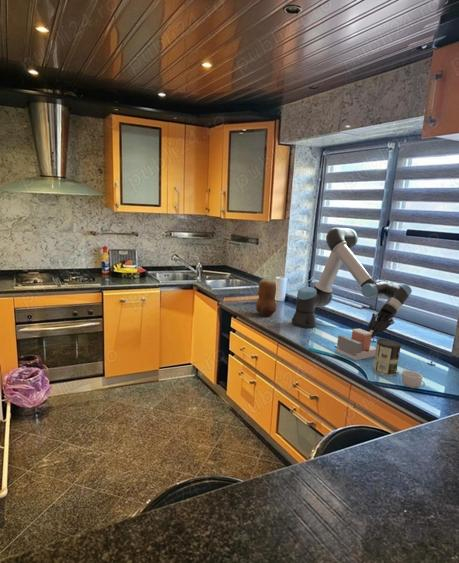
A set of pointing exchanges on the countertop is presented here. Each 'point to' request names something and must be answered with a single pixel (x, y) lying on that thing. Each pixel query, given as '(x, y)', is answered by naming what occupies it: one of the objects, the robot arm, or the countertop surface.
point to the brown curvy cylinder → (266, 297)
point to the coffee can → (386, 357)
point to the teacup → (412, 379)
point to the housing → (353, 348)
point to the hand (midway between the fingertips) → (366, 340)
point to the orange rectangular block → (362, 338)
